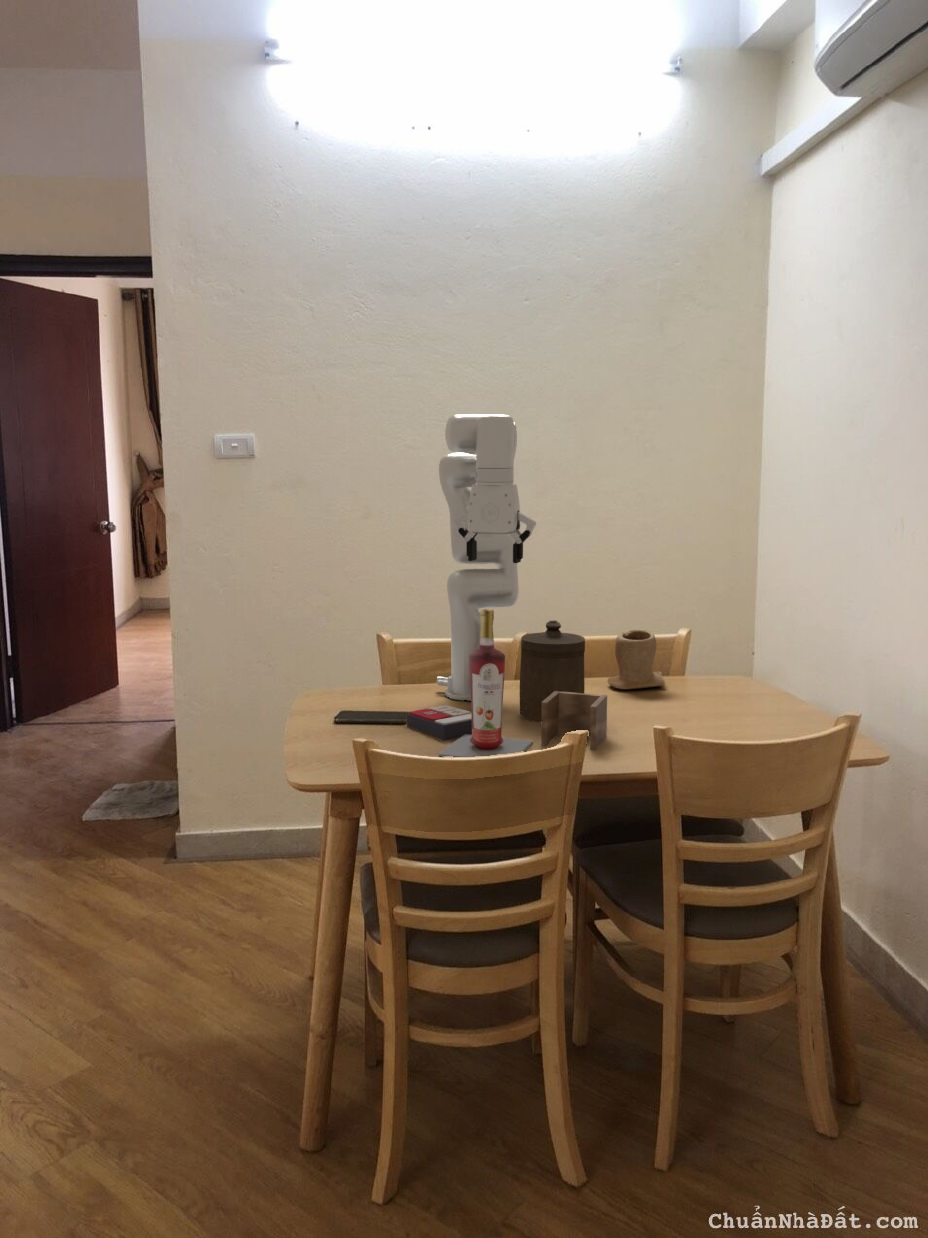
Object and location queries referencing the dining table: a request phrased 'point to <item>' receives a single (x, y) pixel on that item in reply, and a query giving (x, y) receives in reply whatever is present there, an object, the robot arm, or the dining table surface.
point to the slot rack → (574, 716)
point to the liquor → (486, 687)
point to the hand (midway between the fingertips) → (494, 561)
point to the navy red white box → (441, 722)
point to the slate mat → (467, 749)
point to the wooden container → (549, 667)
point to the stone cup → (636, 661)
